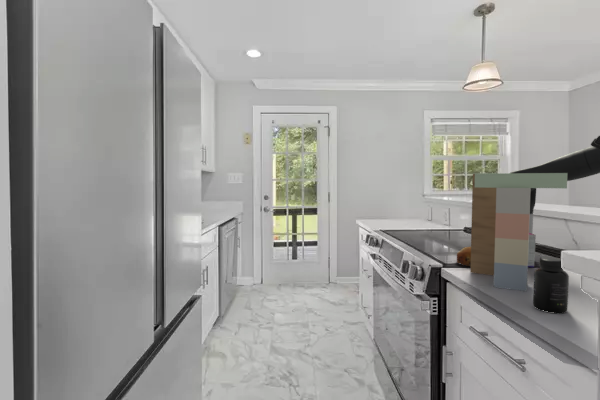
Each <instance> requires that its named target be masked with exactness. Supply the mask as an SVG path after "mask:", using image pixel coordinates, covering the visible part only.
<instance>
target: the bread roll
mask: <svg viewBox="0 0 600 400" xmlns="http://www.w3.org/2000/svg"><path fill="white" fill-rule="evenodd" d="M457 262H458V263H461V264H463V265H462V266H464V265H466V266H465V267H471V246H466V247H463V248H462V249H461V250H459V251H457V253H456V263H457ZM458 263H457V264H458Z"/></svg>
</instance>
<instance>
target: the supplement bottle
mask: <svg viewBox="0 0 600 400" xmlns="http://www.w3.org/2000/svg"><path fill="white" fill-rule="evenodd" d="M561 259H562V258H559V257H553V256H540V257H539V268H536V269H535V270H534V273H533V295H532V305H533V307H534V308H535V307H536V308H538V309H540V310H539V311H541V310H544V311H548V312H554V313H553V314H557V313H559V314H564V312H565V313H566V312H568V306H569V305H568V304H569V285H570V276H569V274H568V272H567V271H565V270H564V269H562V268H561ZM536 308H535V309H536ZM538 309H537V310H538ZM544 311H543V312H544ZM548 312H547V313H548Z"/></svg>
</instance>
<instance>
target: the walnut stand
mask: <svg viewBox="0 0 600 400" xmlns="http://www.w3.org/2000/svg"><path fill="white" fill-rule="evenodd" d="M475 174H476V173H472V189H471V192H472V193H471V194H472V197H471V200H472V201H471V232H470V233H471V234H470V235H471V238H470V241H471V242H470V247H471V266H470V270H469V271H470V272H469V273H471V274H481V275H488V276H494V257H495V222H496V188H482V187H475Z"/></svg>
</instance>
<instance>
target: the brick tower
mask: <svg viewBox="0 0 600 400" xmlns="http://www.w3.org/2000/svg"><path fill="white" fill-rule="evenodd" d="M530 190H531V188H496V222H495V257H494V275H493V288H499V289H507V290H514V291H520V292H521V291H522V292H527V290H528V274H529V271H528V270H529V268H528V249H529V219H530Z"/></svg>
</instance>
